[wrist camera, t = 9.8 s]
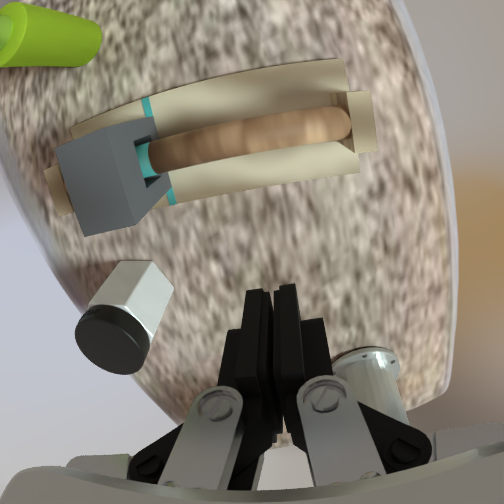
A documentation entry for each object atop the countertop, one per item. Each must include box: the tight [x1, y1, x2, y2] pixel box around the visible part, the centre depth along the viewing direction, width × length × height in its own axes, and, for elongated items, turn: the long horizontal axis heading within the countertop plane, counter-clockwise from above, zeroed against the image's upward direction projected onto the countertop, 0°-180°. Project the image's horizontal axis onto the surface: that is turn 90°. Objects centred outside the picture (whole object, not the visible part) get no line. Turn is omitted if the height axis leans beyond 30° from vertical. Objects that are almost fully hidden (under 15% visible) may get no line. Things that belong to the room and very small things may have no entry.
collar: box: [55, 116, 172, 237], centre depth 25 cm, size 8×5×10 cm, turn 11°
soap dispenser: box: [0, 2, 102, 67], centre depth 16 cm, size 6×7×20 cm
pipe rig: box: [43, 58, 378, 216], centre depth 27 cm, size 12×30×8 cm, turn 101°
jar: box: [75, 261, 174, 375], centre depth 34 cm, size 9×8×12 cm
